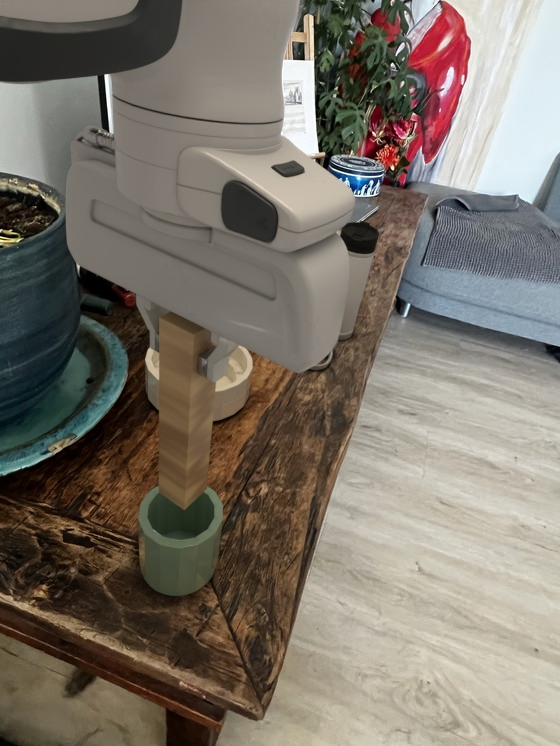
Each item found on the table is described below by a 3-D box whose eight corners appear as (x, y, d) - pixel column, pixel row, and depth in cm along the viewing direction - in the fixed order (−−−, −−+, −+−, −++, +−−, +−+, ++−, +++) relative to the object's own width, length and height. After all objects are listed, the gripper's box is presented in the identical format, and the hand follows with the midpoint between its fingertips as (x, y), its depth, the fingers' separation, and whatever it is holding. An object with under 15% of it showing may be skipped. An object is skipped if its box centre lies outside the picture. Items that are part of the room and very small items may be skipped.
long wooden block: (184, 510, 42) (193, 334, 32) (158, 492, 44) (158, 317, 33) (206, 489, 45) (222, 318, 34) (181, 472, 46) (188, 302, 35)
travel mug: (355, 327, 94) (383, 226, 82) (347, 344, 89) (377, 238, 77) (323, 318, 95) (347, 216, 83) (314, 334, 90) (338, 227, 78)
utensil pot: (183, 612, 46) (186, 564, 41) (123, 566, 49) (119, 515, 44) (232, 555, 52) (239, 506, 47) (175, 516, 54) (177, 466, 50)
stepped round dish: (205, 442, 64) (207, 407, 61) (123, 393, 69) (122, 359, 66) (266, 390, 75) (272, 358, 71) (192, 351, 80) (194, 319, 76)
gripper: (25, 121, 29) (54, 323, 37) (328, 232, 22) (281, 453, 30) (109, 115, 34) (119, 295, 42) (383, 204, 26) (329, 402, 34)
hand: (188, 362), depth 36 cm, fingers closed on long wooden block, 3 cm apart
